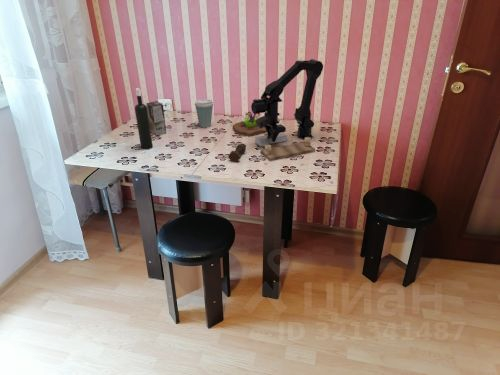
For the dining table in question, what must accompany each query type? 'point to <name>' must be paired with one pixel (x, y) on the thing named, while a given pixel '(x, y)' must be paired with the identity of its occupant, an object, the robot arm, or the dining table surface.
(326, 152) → the dining table surface
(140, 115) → the wine bottle
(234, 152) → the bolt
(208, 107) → the disposable coffee cup
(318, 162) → the dining table surface
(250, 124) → the plant
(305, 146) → the peg rack
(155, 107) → the coffee box
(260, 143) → the grey stepped block
